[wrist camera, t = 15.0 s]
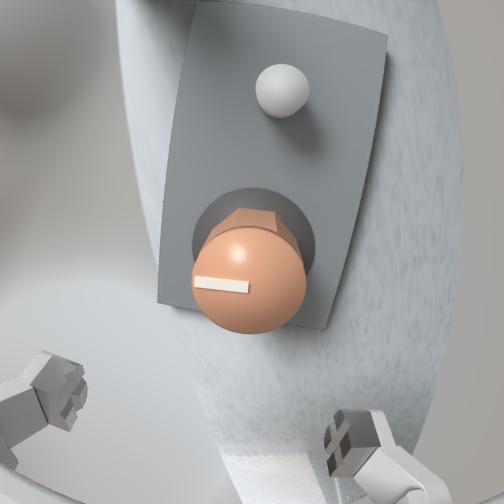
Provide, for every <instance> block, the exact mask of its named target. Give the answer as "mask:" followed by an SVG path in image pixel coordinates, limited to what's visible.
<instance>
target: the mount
mask: <svg viewBox="0 0 504 504" xmlns="http://www.w3.org/2000/svg"><path fill="white" fill-rule="evenodd" d="M387 40H388V35H386V34H383V33H380V32H377V31H374V30H370V29H367V28H364V27H361V26H357V25H354V24H350V23H347V22H343V21H339V20H335V19H331V18H327V17H323V16H318V15H314V14H309V13H304V12H299V11H293V10H288V9H282V8H275V7H268V6H261V5H252V4H243V3H231V2H216V1H197V3H196V7H195V11H194V16H193V20H192V24H191V29H190V33H189V38H188V42H187V47H186V52H185V57H184V62H183V67H182V72H181V78H180V83H179V89H178V94H177V100H176V107H175V113H174V119H173V126H172V133H171V140H170V148H169V156H168V164H167V172H166V181H165V191H164V201H163V213H162V225H161V238H160V254H159V273H158V299H157V301H158V302H157V303H160V304H165V305H170V306H175V307H180V308H186V309H191V310H196V311H201V309H200V308H199V306H198V304H197V302H196V300H195V298H194V295H193V291H192V282H191V279H192V272H193V268H194V265H195V262H196V260H197V258H198V256H199V253H200V251H201V249H202V247H203V245H204V244H205V242H206V240H207V238H208V236H209V235H210V233H211V231H212V229H214V228H215V227H216V226H217V225H218V224H220V223H221V222H222V221H223V220H225V219H226V218H227V217H228V216H230V215H231V214H232V213H233V212H234V211H236V210H237V209H238V208H245V209H254V210H264V211H273V212H275V213H276V214H277V216H278V217H279V218H280V219H281V220H282V222H283V223H284V224H285V225H286V227H287V228H288V229H289V230H290V232H291V233H292V234H293V235H294V237H295V238H296V241H297V244H298V247H299V251H300V254H301V257H302V261H303V264H304V265H303V267H304V271H305V276H306V292H305V296H304V299H303V302H302V304H301V306H300V308H299V309H298V311H297V312H296V313H295V315H294V316H293V317H292V318H291V319H290V320H289V321H287V322H286V323H285V324H283V325H290V326H297V327H305V328H312V329H320V330H325V327H326V323H327V320H328V317H329V314H330V311H331V308H332V304H333V301H334V298H335V294H336V291H337V288H338V284H339V281H340V277H341V274H342V270H343V267H344V263H345V260H346V256H347V252H348V248H349V245H350V241H351V237H352V233H353V229H354V225H355V221H356V217H357V213H358V209H359V204H360V200H361V196H362V191H363V187H364V182H365V177H366V173H367V168H368V163H369V158H370V153H371V148H372V143H373V137H374V132H375V126H376V120H377V114H378V108H379V102H380V95H381V89H382V81H383V74H384V66H385V58H386V49H387Z"/></svg>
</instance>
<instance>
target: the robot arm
mask: <svg viewBox="0 0 504 504" xmlns="http://www.w3.org/2000/svg"><path fill="white" fill-rule="evenodd" d="M83 375H84V369H83V365H80V364H78V363H75V362H73V361H70V360H67V359H65V358H62V357H59V356H57V355H54V354H51V353H49V352H46V351H44V350H43V351H41V352H39V353H38V355H37V356H36V357H35V358H34V360H33V361H32V362H31V363H30V365H29V366H28V367H27V368H26V370H25V371H24V372H23V373H22V375H21V376H20V377H19V379H18V380H17V379H12V380H9V381H7V382H4V383H1V384H0V504H85V503H82V502H80V501H77V500H75V499H72V498H70V497H68V496H65V495H63V494H61V493H58V492H56V491H54V490H52V489H50V488H47V487H45V486H43V485H41V484H39V483H37V482H35V481H33V480H31V479H29V478H27V477H25V476H24V475H22V474H20V473H18V472H16V471H15V469H16V467H17V465H18V460H17V458H16V457H15V455H14V454H13V452H12V451H11V448H12V447H14V446H15V445H17V444H19V443H20V442H22V441H24V440H25V439H27V438H28V437H30V436H32V435H33V434H35V433H36V432H38V431H40V430H41V429H43V428H44V427H46V426H47V425H48V424H50V425H53V426H55V427H58V428H61V429H63V430H66V431H69V432H70V431H71V429H72V427H73V425H74V423H75V421H76V419H77V415H76V411H78V410H80V409H82V408H83V406H84V404H85V402H86V398H87V383H86V381H85V380H84V379H83V378H82V376H83ZM334 420H335V422H333V423H331V424H330V425H329V426H328V428H327V430H326V433H325V437H324V446H325V451H326V452H327V453H328V454H329V455H330V457H329V459H328V460H327V465H328V471H329V477H353V478H354V480H355V481H356V482H357V483H358V484H359V486H360V487H361V488H362V489H363V490H364V492H365V493H366V494H367V495H368V496H369V497H370V499H371V500H372V501H373V502H374V503H375V504H453V503H452V500H451V497H450V494H449V492H448V489H447V486H446V484H445V482H444V481H442V480H441V479H440V478H439V477H437V476H436V475H435V474H434V473H432V472H431V471H430V470H428V469H427V468H426V467H425V466H424V465H422V464H421V463H420V462H419V461H418V460H416V459H415V458H414V457H413V456H411V455H410V454H409V453H408V452H407V451H405V450H404V449H403V448H402V447H401V446H396V444H395V441H394V439H393V436H392V433H391V430H390V428H389V425H388V422H387V419H386V417H385V414H384V412H383V411H382V410H349V409H339V410H338V411H337V412H336V413H335V415H334ZM477 504H504V492H503V493H501V494H499V495H496V496H494V497H492V498H489V499H487V500H485V501H482V502H480V503H477Z"/></svg>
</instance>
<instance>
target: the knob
mask: <svg viewBox="0 0 504 504" xmlns="http://www.w3.org/2000/svg"><path fill="white" fill-rule="evenodd" d="M303 265H304V264H303V261H302V257H301V254H300V251H299V247H298V244H297V241H296V238H295V237H294V235H293V234H292V233H291V232H290V230H289V229H288V228H287V227H286V225H285V224H284V223H283V222H282V220H281V219H280V218H279V217H278V216H277V214H276V213H275V212H273V211H264V210H254V209H245V208H238V209H237V210H236V211H234V212H233V213H232V214H231V215H230V216H228V217H227V218H226V219H225V220H223V221H222V222H221V223H220V224H218V225H217V226H216V227H215V228H214V229H212V231H211V233H210V235H209V236H208V238H207V240H206V242H205V244H204V245H203V247H202V249H201V251H200V253H199V256H198V258H197V260H196V262H195V265H194V268H193V272H192V279H191V282H192V291H193V295H194V298H195V300H196V302H197V304H198V306H199V308H200V309H201V311H202V312H203V313H204V314H205V315H206V317H208V318H209V319H210V320H211V321H212V322H214V323H215V324H216V325H218V326H220V327H222V328H224V329H226V330H229V331H232V332H236V333H241V334H259V333H265V332H268V331H271V330H274V329H276V328H278V327H280V326H282V325H283V324H285V323H286V322H287V321H289V320H290V319H291V318H292V317H293V316H294V315H295V313H296V312H297V311H298V309H299V308H300V306H301V304H302V302H303V299H304V296H305V292H306V276H305V271H304V267H303Z"/></svg>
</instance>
